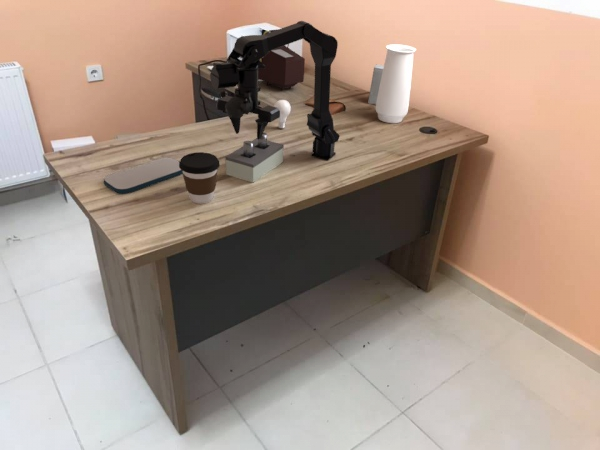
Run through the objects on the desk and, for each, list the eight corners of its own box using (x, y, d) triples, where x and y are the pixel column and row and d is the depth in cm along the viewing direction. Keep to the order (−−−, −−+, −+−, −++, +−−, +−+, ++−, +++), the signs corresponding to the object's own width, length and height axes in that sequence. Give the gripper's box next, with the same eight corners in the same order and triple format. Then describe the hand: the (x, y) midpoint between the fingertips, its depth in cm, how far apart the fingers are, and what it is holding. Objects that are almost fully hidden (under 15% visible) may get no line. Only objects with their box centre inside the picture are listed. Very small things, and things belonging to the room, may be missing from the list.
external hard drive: (168, 161, 160) (168, 155, 159) (190, 173, 154) (189, 167, 153) (100, 183, 145) (99, 177, 144) (120, 198, 139) (119, 191, 138)
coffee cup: (174, 197, 140) (170, 158, 134) (206, 185, 147) (204, 148, 140) (196, 212, 134) (193, 172, 127) (229, 199, 140) (227, 161, 134)
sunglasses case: (301, 103, 212) (307, 89, 211) (310, 108, 218) (316, 94, 217) (332, 115, 202) (339, 100, 201) (341, 120, 208) (348, 105, 207)
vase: (406, 126, 196) (419, 53, 181) (373, 122, 198) (383, 50, 183) (405, 115, 207) (417, 45, 192) (374, 111, 209) (384, 42, 194)
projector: (277, 77, 244) (278, 23, 230) (307, 90, 229) (311, 33, 215) (249, 82, 234) (249, 26, 221) (279, 96, 220) (281, 37, 206)
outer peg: (255, 158, 153) (255, 142, 150) (249, 162, 151) (249, 145, 148) (247, 156, 154) (246, 140, 152) (241, 159, 152) (241, 143, 149)
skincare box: (367, 104, 217) (372, 67, 208) (370, 99, 223) (375, 63, 214) (387, 106, 215) (392, 70, 206) (389, 101, 221) (394, 65, 212)
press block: (283, 161, 163) (283, 144, 160) (253, 182, 150) (253, 164, 146) (257, 154, 167) (257, 137, 164) (226, 174, 153) (225, 156, 150)
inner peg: (268, 150, 159) (268, 133, 156) (263, 153, 157) (263, 137, 154) (260, 147, 161) (260, 131, 158) (255, 151, 158) (255, 134, 155)
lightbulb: (290, 126, 190) (292, 98, 184) (288, 132, 185) (290, 103, 179) (274, 124, 191) (275, 96, 185) (272, 130, 185) (272, 102, 179)
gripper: (203, 85, 138) (206, 137, 146) (260, 98, 131) (259, 152, 139) (227, 76, 146) (228, 126, 155) (281, 88, 139) (280, 140, 148)
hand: (248, 136), depth 149 cm, fingers open, 7 cm apart
